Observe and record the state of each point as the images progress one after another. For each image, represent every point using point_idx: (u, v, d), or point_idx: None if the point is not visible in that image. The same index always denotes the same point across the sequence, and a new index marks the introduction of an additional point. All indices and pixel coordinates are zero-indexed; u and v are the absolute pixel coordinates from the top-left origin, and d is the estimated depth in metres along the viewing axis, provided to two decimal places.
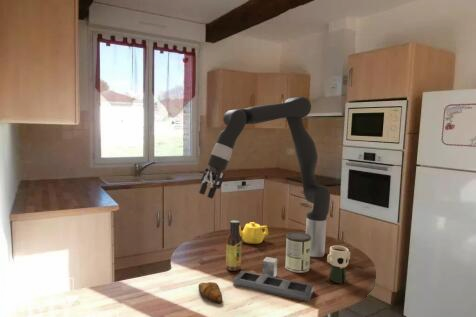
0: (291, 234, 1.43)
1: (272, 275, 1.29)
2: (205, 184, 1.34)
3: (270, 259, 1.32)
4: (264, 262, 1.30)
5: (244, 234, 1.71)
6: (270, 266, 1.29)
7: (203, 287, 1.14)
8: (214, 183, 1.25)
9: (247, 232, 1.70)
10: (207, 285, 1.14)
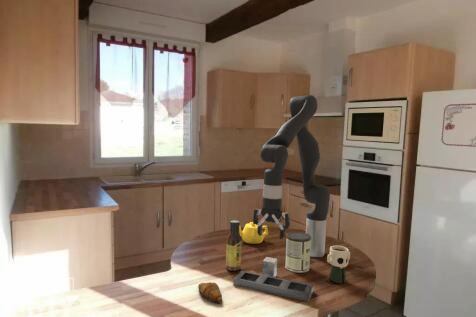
0: (291, 234, 1.43)
1: (272, 275, 1.29)
2: (261, 225, 1.32)
3: (270, 259, 1.32)
4: (264, 262, 1.30)
5: (244, 234, 1.71)
6: (270, 266, 1.29)
7: (203, 287, 1.14)
8: (285, 225, 1.27)
9: (247, 232, 1.70)
10: (207, 285, 1.14)
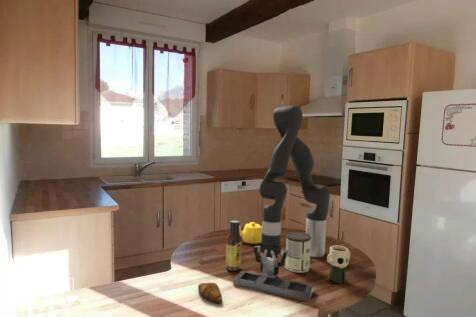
0: (291, 234, 1.43)
1: (272, 275, 1.29)
2: None
3: (270, 259, 1.32)
4: (264, 262, 1.30)
5: (244, 234, 1.71)
6: (270, 266, 1.29)
7: (203, 287, 1.14)
8: (280, 263, 1.29)
9: (247, 232, 1.70)
10: (207, 285, 1.14)
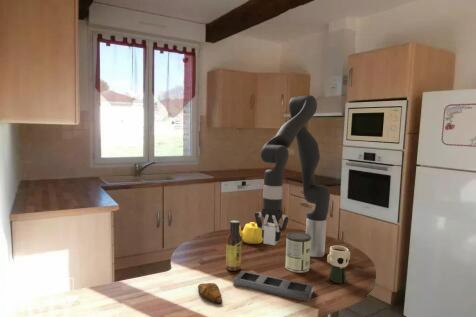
0: (291, 234, 1.43)
1: (273, 240, 1.27)
2: None
3: (271, 224, 1.30)
4: (265, 227, 1.28)
5: (244, 234, 1.71)
6: (271, 231, 1.28)
7: (203, 288, 1.14)
8: (282, 227, 1.27)
9: (247, 232, 1.70)
10: (207, 286, 1.14)
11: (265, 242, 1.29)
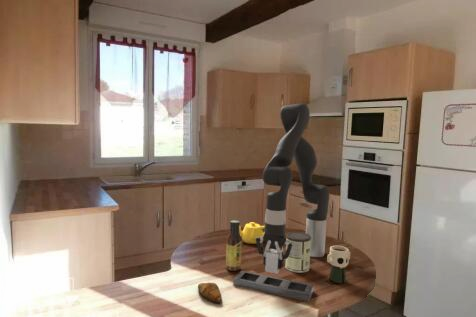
0: (291, 234, 1.43)
1: (276, 268, 1.19)
2: None
3: (273, 251, 1.22)
4: (267, 254, 1.20)
5: (244, 234, 1.71)
6: (273, 258, 1.19)
7: (202, 287, 1.14)
8: (285, 255, 1.18)
9: (247, 232, 1.70)
10: (206, 285, 1.14)
11: (267, 270, 1.20)
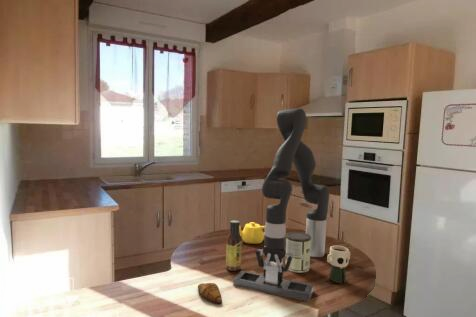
0: (291, 234, 1.43)
1: (276, 281, 1.19)
2: None
3: (273, 263, 1.22)
4: (267, 267, 1.20)
5: (244, 234, 1.71)
6: (273, 271, 1.20)
7: (202, 288, 1.14)
8: (285, 268, 1.19)
9: (247, 232, 1.70)
10: (206, 286, 1.14)
11: (267, 283, 1.21)
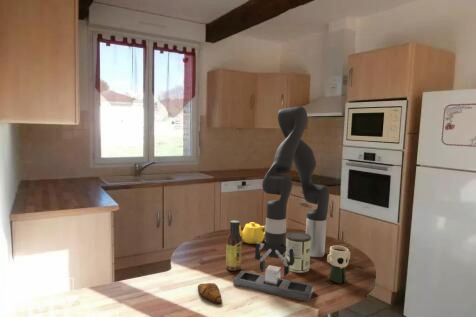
0: (291, 234, 1.43)
1: (275, 285, 1.20)
2: (263, 260, 1.23)
3: (273, 268, 1.22)
4: (267, 271, 1.21)
5: (244, 234, 1.71)
6: (273, 275, 1.20)
7: (202, 288, 1.14)
8: (290, 262, 1.18)
9: (247, 232, 1.70)
10: (206, 286, 1.14)
11: None
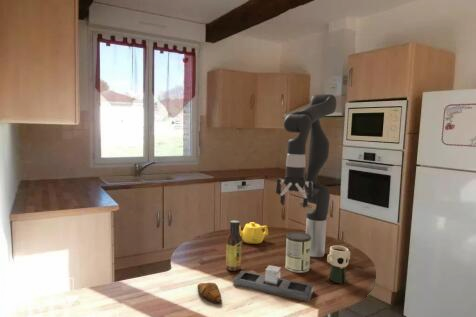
0: (291, 234, 1.43)
1: (275, 285, 1.20)
2: (284, 194, 1.34)
3: (273, 268, 1.22)
4: (267, 271, 1.21)
5: (244, 234, 1.71)
6: (273, 275, 1.20)
7: (202, 287, 1.14)
8: (309, 193, 1.29)
9: (247, 232, 1.70)
10: (206, 285, 1.14)
11: None
